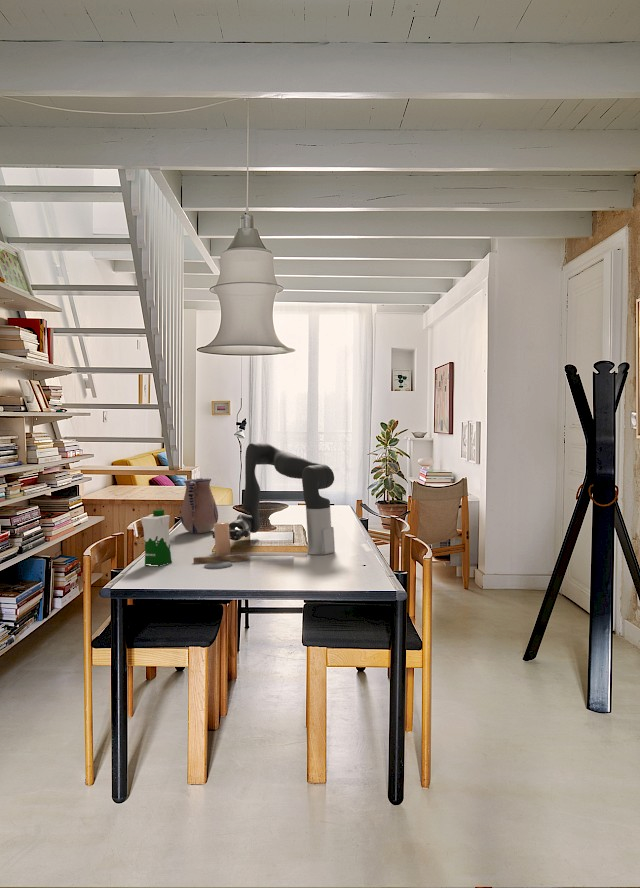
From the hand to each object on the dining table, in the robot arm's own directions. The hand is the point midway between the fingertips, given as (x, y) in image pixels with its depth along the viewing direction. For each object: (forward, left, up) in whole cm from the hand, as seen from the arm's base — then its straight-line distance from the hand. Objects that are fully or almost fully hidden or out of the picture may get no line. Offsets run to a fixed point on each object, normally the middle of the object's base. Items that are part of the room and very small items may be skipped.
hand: (226, 536), depth 280 cm
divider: (-7, +10, -7) cm, 15 cm away
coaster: (-13, +16, -7) cm, 22 cm away
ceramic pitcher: (+52, -32, -7) cm, 61 cm away
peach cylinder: (-2, +4, -7) cm, 9 cm away
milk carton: (+12, +24, -7) cm, 28 cm away
